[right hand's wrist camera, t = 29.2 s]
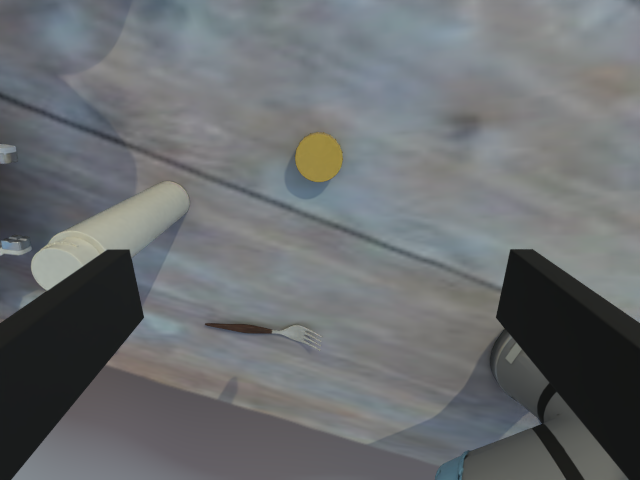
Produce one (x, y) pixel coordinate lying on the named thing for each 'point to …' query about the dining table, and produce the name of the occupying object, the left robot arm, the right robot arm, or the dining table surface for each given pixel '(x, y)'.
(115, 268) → the right robot arm
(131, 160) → the dining table surface
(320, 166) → the lid
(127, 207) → the bottle
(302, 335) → the fork
